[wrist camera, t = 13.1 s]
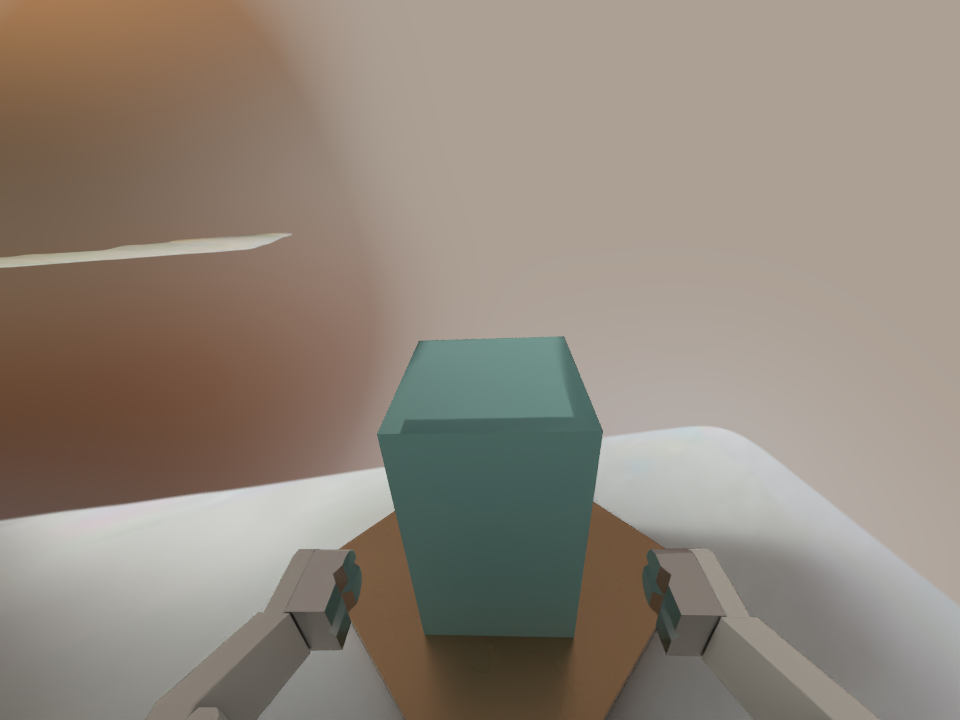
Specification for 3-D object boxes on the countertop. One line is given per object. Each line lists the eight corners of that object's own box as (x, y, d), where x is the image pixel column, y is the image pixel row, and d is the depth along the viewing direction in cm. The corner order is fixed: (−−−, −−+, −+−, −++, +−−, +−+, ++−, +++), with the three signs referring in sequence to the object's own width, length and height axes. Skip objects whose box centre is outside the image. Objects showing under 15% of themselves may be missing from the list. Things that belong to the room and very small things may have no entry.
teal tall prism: (424, 634, 14) (377, 434, 9) (443, 510, 19) (418, 340, 14) (574, 637, 14) (602, 431, 9) (552, 510, 19) (563, 336, 14)
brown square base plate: (192, 880, 10) (-10, 784, 6) (376, 450, 25) (350, 346, 21) (849, 921, 9) (1093, 837, 5) (626, 448, 24) (646, 338, 20)
